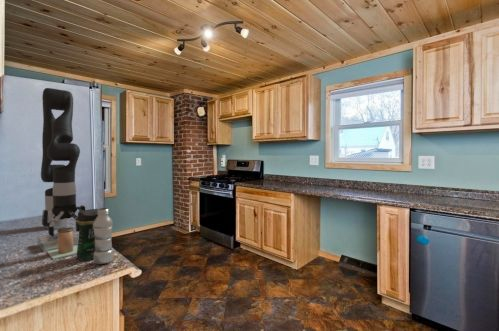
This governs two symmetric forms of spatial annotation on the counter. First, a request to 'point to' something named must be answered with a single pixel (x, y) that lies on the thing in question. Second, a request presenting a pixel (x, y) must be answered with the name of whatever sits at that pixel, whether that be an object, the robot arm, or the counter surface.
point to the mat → (56, 255)
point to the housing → (52, 242)
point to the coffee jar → (86, 234)
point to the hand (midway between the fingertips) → (65, 233)
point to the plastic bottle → (103, 237)
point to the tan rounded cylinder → (65, 240)
